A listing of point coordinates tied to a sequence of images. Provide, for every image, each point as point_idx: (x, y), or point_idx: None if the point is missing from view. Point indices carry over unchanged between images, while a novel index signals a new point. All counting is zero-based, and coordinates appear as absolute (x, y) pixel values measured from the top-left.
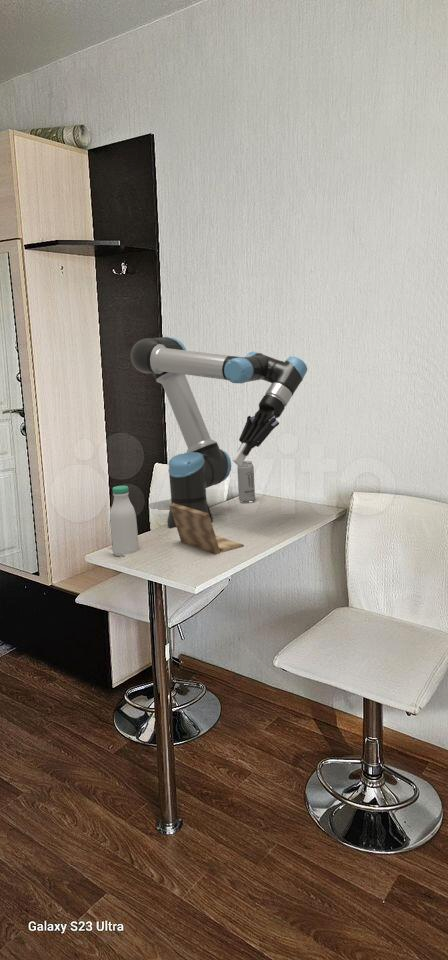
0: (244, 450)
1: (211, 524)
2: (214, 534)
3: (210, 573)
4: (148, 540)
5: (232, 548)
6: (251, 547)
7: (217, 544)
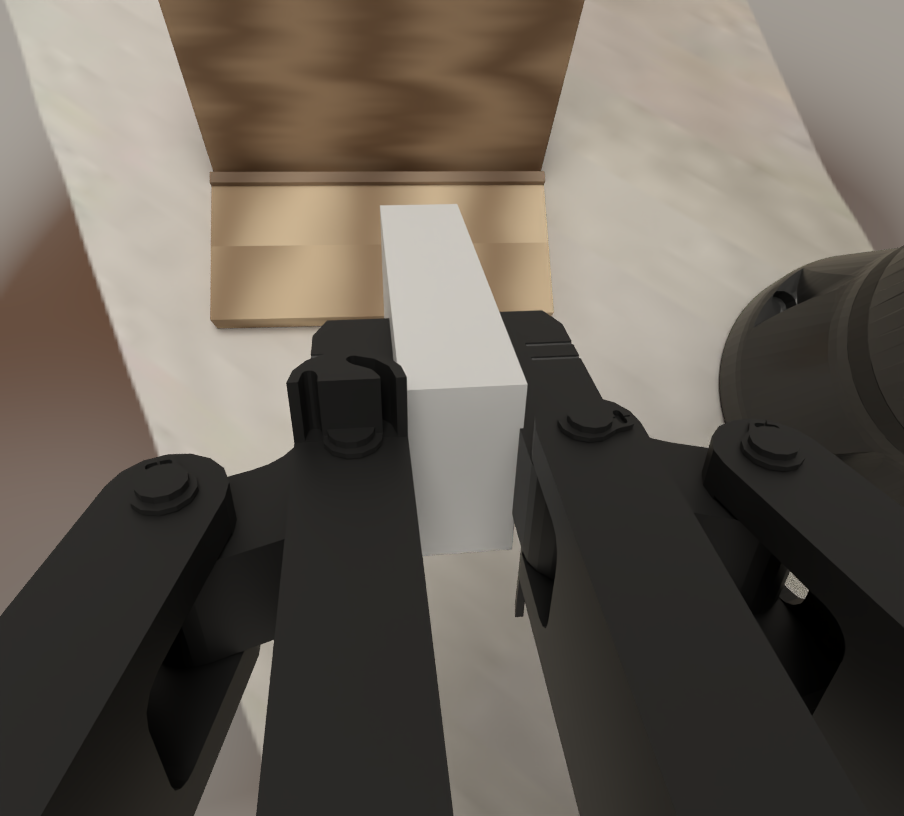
0: (367, 346)
1: (163, 12)
2: (184, 76)
3: (43, 10)
4: (713, 86)
5: (211, 245)
6: (220, 381)
7: (201, 130)
